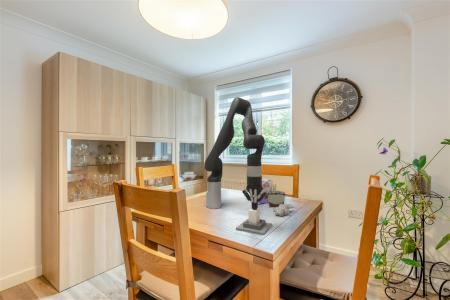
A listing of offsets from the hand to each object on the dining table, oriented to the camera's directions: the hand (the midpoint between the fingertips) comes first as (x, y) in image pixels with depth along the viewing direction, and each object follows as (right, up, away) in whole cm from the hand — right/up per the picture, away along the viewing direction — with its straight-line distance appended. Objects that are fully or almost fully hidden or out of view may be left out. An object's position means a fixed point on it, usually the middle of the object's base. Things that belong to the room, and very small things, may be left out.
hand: (254, 209), depth 108 cm
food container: (+19, -8, +37) cm, 43 cm away
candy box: (+12, -8, +47) cm, 49 cm away
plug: (0, -8, 0) cm, 8 cm away
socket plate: (0, -9, 0) cm, 9 cm away
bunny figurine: (+20, -9, +22) cm, 31 cm away
